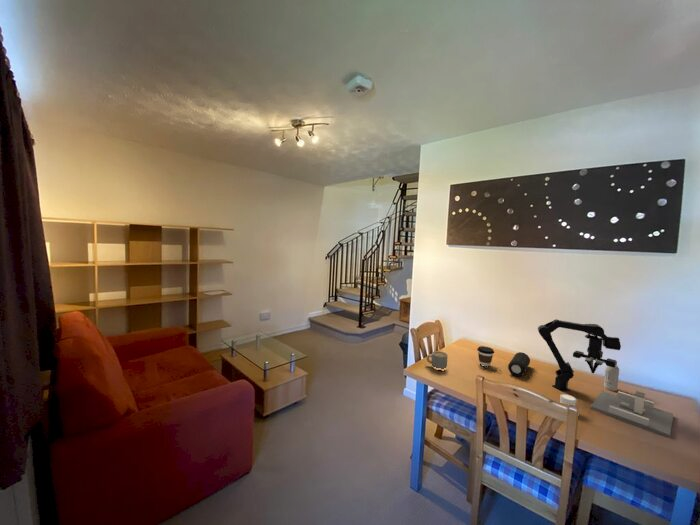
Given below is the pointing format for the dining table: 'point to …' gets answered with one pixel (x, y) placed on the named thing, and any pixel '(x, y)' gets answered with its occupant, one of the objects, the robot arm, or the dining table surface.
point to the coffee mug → (438, 359)
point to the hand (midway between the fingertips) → (593, 373)
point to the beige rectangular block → (639, 402)
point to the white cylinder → (567, 399)
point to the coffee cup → (485, 355)
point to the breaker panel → (624, 411)
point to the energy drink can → (611, 378)
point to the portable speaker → (519, 364)
